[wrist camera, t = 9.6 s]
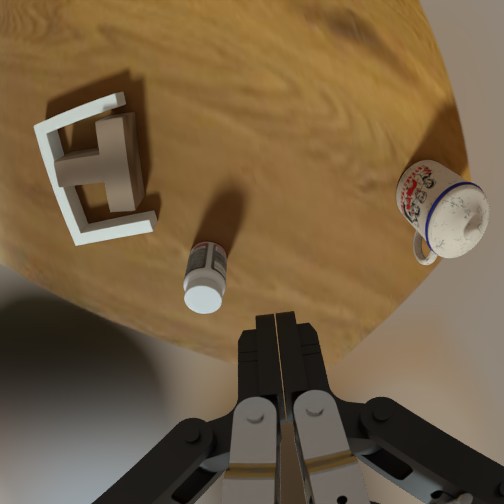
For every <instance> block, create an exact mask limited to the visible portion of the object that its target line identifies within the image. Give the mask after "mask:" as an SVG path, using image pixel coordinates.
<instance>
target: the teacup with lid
mask: <svg viewBox="0 0 504 504" xmlns="http://www.w3.org/2000/svg"><path fill="white" fill-rule="evenodd" d="M396 200H397V205H398V208H399V210H400V212H401V213H402V214H403V216H404V217H405V218H406V219H407V220H408V221H409V222H410V223H411V224H412V225H413V227H414V228H415V229H416V232H415V235H414V239H413V250H414V254H415V257H416V259H417V260H418V262H419V263H421V264H424V265H429V264H431V263H433V262H434V261H435V259H436V258H437V256H438V255H439V256H441V257H446V258H454V257H458V256H461V255H463V254H465V253H467V252H468V251H469V250H471V249H472V248H473V247H474V246H475V245H476V244H477V243H478V241H479V240H480V239H481V237H482V236H483V234H484V232H485V229H486V227H487V224H488V220H489V204H488V200H487V198H486V195H485V194H484V192H483V191H482V189H481V188H480V187H479V186H477V185H475V184H474V183H471V182H468V181H466V180H465V179H463V178H462V177H460V176H459V175H457V174H456V173H454V172H453V171H451V170H450V169H448V168H446V167H445V166H443V165H442V164H440V163H438V162H436V161H433V160H422V161H419V162H417V163H415V164H413V165H412V166H410V167H409V168H408V169H407V170H406V171H405V172H404V174H403V175H402V177H401V179H400V181H399V183H398V187H397V192H396ZM422 238H424V239H425V240H426V241H427V244H428V246H429V248H430V249H431V250H430V252H429V254H428V255H427V257H426V258H425V257H424V255H423V252H422V247H421V243H422Z"/></svg>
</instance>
